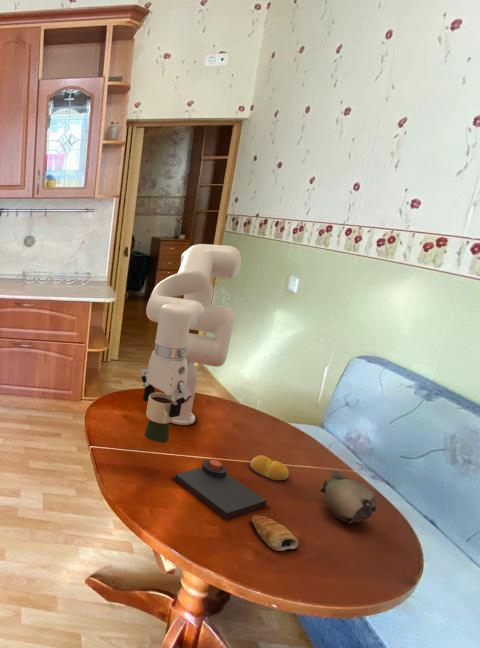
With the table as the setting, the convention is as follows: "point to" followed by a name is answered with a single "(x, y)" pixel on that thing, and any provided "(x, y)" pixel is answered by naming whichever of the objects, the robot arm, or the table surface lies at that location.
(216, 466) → the button
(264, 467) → the bread roll
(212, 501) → the scale
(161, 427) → the character mug
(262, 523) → the pastry
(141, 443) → the table surface
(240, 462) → the table surface
